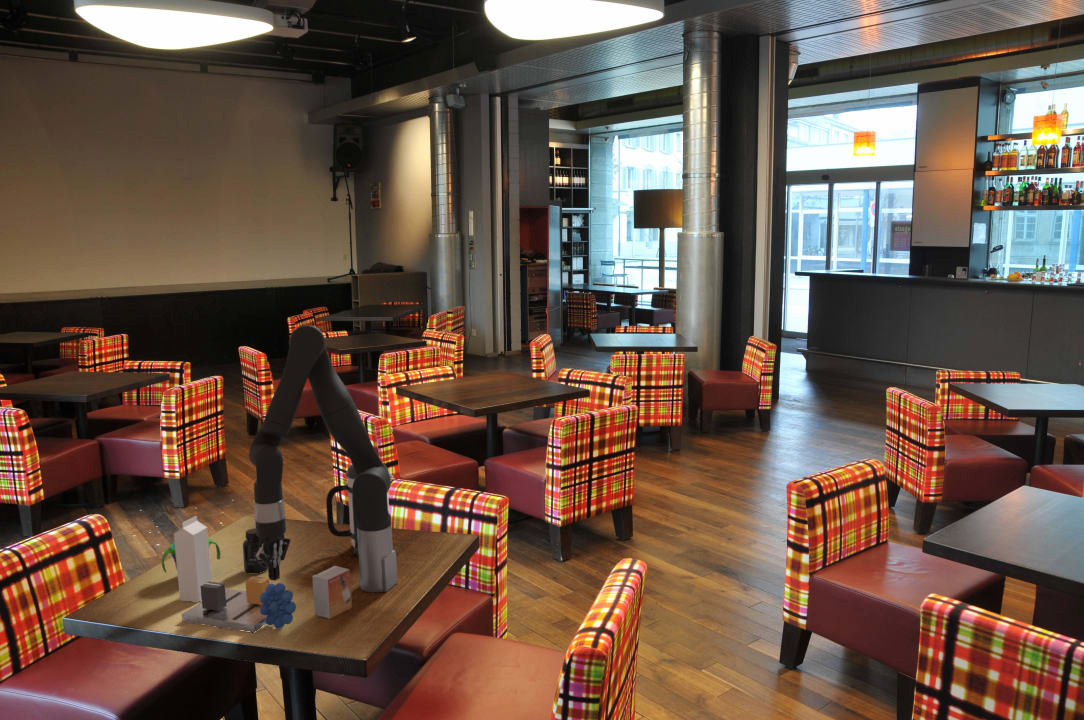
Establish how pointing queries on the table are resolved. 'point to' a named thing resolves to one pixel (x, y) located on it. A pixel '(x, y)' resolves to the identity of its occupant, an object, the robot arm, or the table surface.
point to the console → (229, 613)
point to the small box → (332, 592)
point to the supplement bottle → (251, 552)
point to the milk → (192, 559)
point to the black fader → (213, 596)
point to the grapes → (277, 605)
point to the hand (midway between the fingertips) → (274, 579)
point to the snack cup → (172, 551)
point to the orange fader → (256, 589)
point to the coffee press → (353, 524)
